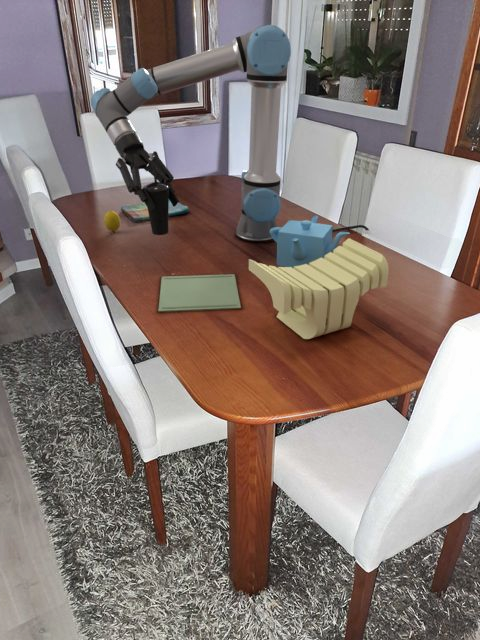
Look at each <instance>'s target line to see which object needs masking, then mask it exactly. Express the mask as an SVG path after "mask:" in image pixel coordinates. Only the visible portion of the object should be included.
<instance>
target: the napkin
mask: <svg viewBox="0 0 480 640" xmlns="http://www.w3.org/2000/svg"><path fill="white" fill-rule="evenodd" d="M159 289H160V291H159V300H158V309H157V310H158V313H171V312H173V313H174V312H194V311H196V312H197V311H222V310H240V309H242V306H241V301H240V295H239V290H238V286H237V279H236V274H235V273H231V274H230V273H228V274H202V275H201V274H199V275H198V274H197V275H174V276H173V275H172V276H170V275H169V276H161V279H160V288H159Z"/></svg>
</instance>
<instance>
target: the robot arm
mask: <svg viewBox="0 0 480 640" xmlns="http://www.w3.org/2000/svg"><path fill="white" fill-rule="evenodd" d="M291 56H292V46H291V42H290V39H289V37H288V35H287V33H286V32H285V31H284V30H283V29H282V28H281V27H280V26H277V25H273V24H263V25H259V26H257V27H255V28H254V29H252V30H250V31H248V32H246V33H244V34H242V35H238V36H235V37H234V38H233V40H232V42H229V43H226V44H223V45H221V46H217V47H214V48H211V49H207V50H205V51H201V52H198V53H195V54H192V55H188V56H186V57H183V58H179V59H175V60H173V61H170V62H167V63H164V64H161V65H158V66H155V67H152V68H148V69H145V68H144V67H141V68H139V69H137V70H136V71H134V72H133V73H131V75H130V76H128V77H127V79H125V80H124V81H123V82H122V83H120V84H119V85H118V86H117V87H116V88H114V89H113V90H111V89H110V88H108V87H103V88H102V87H101V89H98V90H96V91H95V92H94V93H92V95H91V96H90V106H91V108H92V110H93V112H94V115H95V116H96V118H97V119H98V121H99V122H100V124H101V125H102V127H103V129H104V131H105V132H106V134H107V136H108V138H109V139H110V141H111V143H112V145H113V146H114V147H115V149H116V151H117V153H118V154H119V156H120V157H118V158H117V160H116V163H115V166H116V168H117V169H118V170H119V171H120V174H121V177H122V179H123V181H124V184H125V186H126V188H127V191H128V193H129V194H132V193H133V194H134V195H135V196H138V198H139V200H140V201H141V203H145V204H146V206H147V208H148V209H149V211H150V213H152V212H153V211H154V210H155V208H156V206H155V204H154V203H153V201H152V199H151V197H150V196H149V194H148V192H147V191H146V189H145V188H143V186H142V181H141V175H140V170H144V171H146V172H148V173H149V174H150V175H151V176H153V177H154V171H153V164H155V166H156V177H157V182H161V183H164V184H167V185H169V187H170V188H169V200H170V201H171V203H172V205H173V207H174V206H176V205H177V203H180V200H179V198H178V197H177V195H176V189H175V188H174V187H173V185H172V182H173V180H174V175H173V174H172V173H171V171H170V170H169V169H168V167H167V166H166V165H165V164H164V162H163V161H162V160H161V159H160V156H159V154H158V152H157V151H153V152H148V151H147V150H146V149H145V146H144V143H143V142H142V139H141V138H140V136H139V134H137V131H136V129H135V127H134V126H133V124H132V123H131V121H130V119H129V118H128V116H130V115H131V114H132V113H134V112H135V111H136V110H137V109H139V108H140V107H141V106H142V105H144V104H145V103H146V102H147V101H149V100H151V99H152V98H154V97H157V96H161V95H163V94H167V93H170V92H173V91H177V90H180V89H183V88H185V87H189V86H193V85H196V84H199V83H202V82H206V81H209V80H212V79H215V78H219V77H222V76H225V75H228V74H231V73H236V72H238V71H239V72H241V73H243V74H244V73H246V81H247V82H248V84H249V85H250V87H251V88H250V90H251V92H250V93H251V94H250V121H249V123H250V124H249V125H250V126H249V151H248V153H249V155H248V169H245V170H243V171H242V172H241V177H240V181H241V184H240V185H241V195H240V196H241V198H240V199H241V200H240V201H241V205H240V207H241V208H240V209H241V215H240V218H239V221H238V224H237V227H236V230H235V231H236V233H235V234H236V238H238V239H239V240H241V241H243V242H246V243H247V242H248V243H255V244H257V243H258V244H260V243H269V242H273V241H274V240H273V238H272V237H271V235H270V229H272V228H274V227H279V226H278V223H277V219H276V218H277V217H278V215H279V214H280V211H281V206H282V201H281V198H280V195H281V193H280V192H281V181H282V180H281V179H282V178H281V176H280V175H279V173H277V165H278V164H277V162H278V149H279V148H278V147H279V129H280V115H281V114H280V113H281V97H282V87H283V86H284V85H285V84H286V83H287V82H288V71H289V70H288V67H289V62H290V59H291ZM129 169H130V170H129ZM344 227H345V228H344ZM361 228H362V229H364V230H365V231H369V227H367V226H366V225H364V224H357V225H350V226H349V225H348V226H343V227H339V228H333V230H332V233H336V232H342V231H345V230H353V229H361ZM277 235H278V232H277Z"/></svg>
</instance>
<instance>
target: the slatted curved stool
mask: <svg viewBox="0 0 480 640" xmlns="http://www.w3.org/2000/svg"><path fill="white" fill-rule="evenodd" d="M248 271H250V272H251V274H253V275H254V276H256V277H257V278H258V279H259V280H260V282H262V283H263V284H264V286H265V287H266V288H267V290H268V292H269V293H270V296H271V301H272V307H273V308H274V309H275V310H276V311H278V313H277V315H276V318H277V319H278V320H279V321H281V322H282V323H284V325H285V326H287V327H288V328H290V329H291V330H292V331H293V332H294V333H296V334H297V335H298V336H300V337H301V338H302V339H303V340H310V339H313V338H317V337H321V336H322V335H323V336H324V335H326V334H329V333H330V334H331V333H334V332H337V331H340V330H344V329H347V328H350V327H351V325H352V323H353V317H354V314H355V312H356V309H357V306H358V303H359V301H360V296H364V295H365V294H366V293H367V292H369V290H374V289H377V288H387V285H388V279H389V272H390V267H389V263H388V260H387V259H386V257H385V256H384V254H382V253H381V252H378V251H376V250H374V249H372V248H371V247H369V246H365V245H364V244H362V243H360V242H358V241H356V240H353V239H352V238H351V237H348V238H347V239H346V240H344V241H343V242H342V245H338V246H337V248H335V249H334V250H333V253H332V252H330V253H328V254H326V255H325V256H324V259H323V258H322V257H321V258H319V259H317V260H315V261H312V262H310V263H309V265H307V264H304V265H300V266H294V269H293V268H292V267H285V266H275V265H270V264H269V265H267V264H265V263H262V262H257V261H256V260H253V259H250V258H248Z"/></svg>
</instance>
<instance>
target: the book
mask: <svg viewBox="0 0 480 640" xmlns="http://www.w3.org/2000/svg"><path fill="white" fill-rule="evenodd" d="M120 211H121V212H122V213H123V214H124V215H126V217H128V218H129V219H130V220H131V221H133V222H134V223H139V222H146V221H150V218H149V213H148V208H147V206H146V204H145V202H143V203H136V204H135V203H134V204H130V205H122V206H121V207H120ZM190 211H191V210H190V208H189V206H187V205H184V204H182V203H181V202H178V203H177V205H176V206H174V207H173V205H172V203H171V201H170V200H169V217H174V216H179V215H184V214H185V215H186V214H188V213H190Z"/></svg>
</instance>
